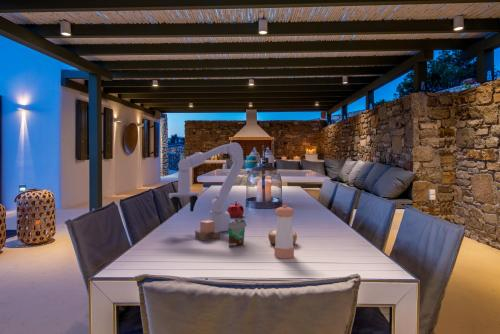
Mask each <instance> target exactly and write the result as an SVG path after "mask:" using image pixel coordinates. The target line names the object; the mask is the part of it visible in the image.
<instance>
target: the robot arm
mask: <svg viewBox="0 0 500 334" xmlns="http://www.w3.org/2000/svg"><path fill="white" fill-rule="evenodd" d="M221 154H224V155H225V154H226V155H227V154H228V156H230V158H231V160H232V165H231V167H230V169H229V171H228V173H227V175H226V177H225V179H224V181H223V183H222V185H221V187H220V189H219V191H218V192H217V194H216V195H215V197H214V198H212V199H211V201H210V207H211V210H210V211H209V220H210V221H215V231H218V232H229V229H228V223H231V216H230V214H229V213H228V212H227V211H226V210H225V205H226V204H225V203H226V201H227V199H228V196H229V194H230V192H231V190H232V188H233V187H234V184H235V183H236V180H237V178H238V177H239V174H240V172H241V170H242V168H243V166H244V163H245V162H244V161H245V160H244V150H243V148H242V146H241V144H240V143H238V142H231V143H227V144H223V145H220V146H219V145H218V146H217V147H215V148H213V149H211V150H208V151H206V152H201V151H199V152H198V151H196V152H194V154H191V155H190V156H188V155H186V156H185V158H182V159H180V160H179V162H178V163H177V167H178V172H177V173H178V176H177V180H178V182H177V186H178V187H177V191H178V192H172V193H168V198H169V199H170V201H171V203H172V205H173V207H174V208H173V209H174V212H175V213H177V214H179V199H180V198H186V197H187V198H188V197H189V206H190V207H189V211H190V212H194V209H195V205H196V203H197V201H198V197H200V192H199V191H192V192H191V173H190V169H191V168H193V169H194V168H196V167H199V166H200V165H202V164H205V163H206V160H207V159H210V158H213V157H215V156H218V155H221Z"/></svg>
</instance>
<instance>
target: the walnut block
mask: <svg viewBox="0 0 500 334" xmlns="http://www.w3.org/2000/svg"><path fill="white" fill-rule="evenodd" d="M194 237H195V239H197V240H200V241H201V242H208V241H214V240H220V239H221V238H220V232H218V231H214V232H210V233H205V232H200V229H198V230H195V231H194Z"/></svg>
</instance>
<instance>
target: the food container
mask: <svg viewBox="0 0 500 334" xmlns="http://www.w3.org/2000/svg"><path fill="white" fill-rule="evenodd" d="M246 227H247V223H246V220H245V219H242V218H237V217H234V221H232V222H230V223H228V229H229V231H228V248H239V247H243V246H244V242H245V231H246Z"/></svg>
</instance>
